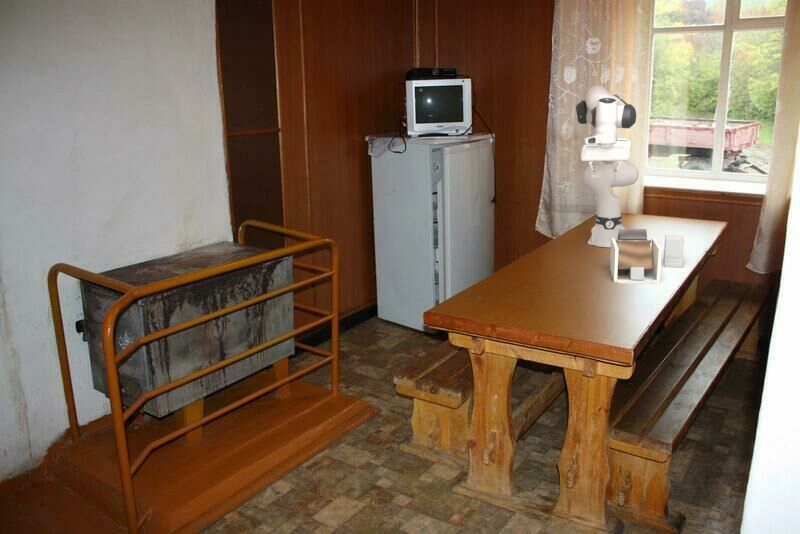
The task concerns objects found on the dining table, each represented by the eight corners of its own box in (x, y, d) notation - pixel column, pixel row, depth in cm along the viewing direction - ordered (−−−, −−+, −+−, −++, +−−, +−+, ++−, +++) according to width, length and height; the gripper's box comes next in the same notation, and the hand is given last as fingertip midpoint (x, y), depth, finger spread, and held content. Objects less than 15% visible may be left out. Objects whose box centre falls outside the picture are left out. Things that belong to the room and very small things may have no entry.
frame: (609, 268, 300) (610, 237, 296) (652, 269, 296) (654, 237, 292) (614, 283, 281) (615, 249, 277) (660, 283, 277) (662, 249, 273)
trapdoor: (613, 238, 301) (615, 228, 295) (647, 238, 299) (650, 229, 293) (616, 277, 291) (617, 268, 285) (651, 278, 288) (653, 268, 282)
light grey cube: (630, 267, 279) (630, 279, 279) (644, 267, 278) (643, 279, 278) (629, 267, 284) (629, 279, 284) (642, 267, 283) (642, 280, 283)
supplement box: (681, 263, 303) (683, 235, 300) (682, 268, 296) (684, 239, 293) (663, 262, 305) (665, 234, 302) (663, 267, 299) (665, 238, 295)
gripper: (631, 136, 291) (629, 169, 295) (580, 138, 295) (579, 170, 299) (632, 138, 285) (631, 172, 289) (581, 139, 289) (580, 172, 293)
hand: (604, 171), depth 294 cm, fingers open, 8 cm apart
